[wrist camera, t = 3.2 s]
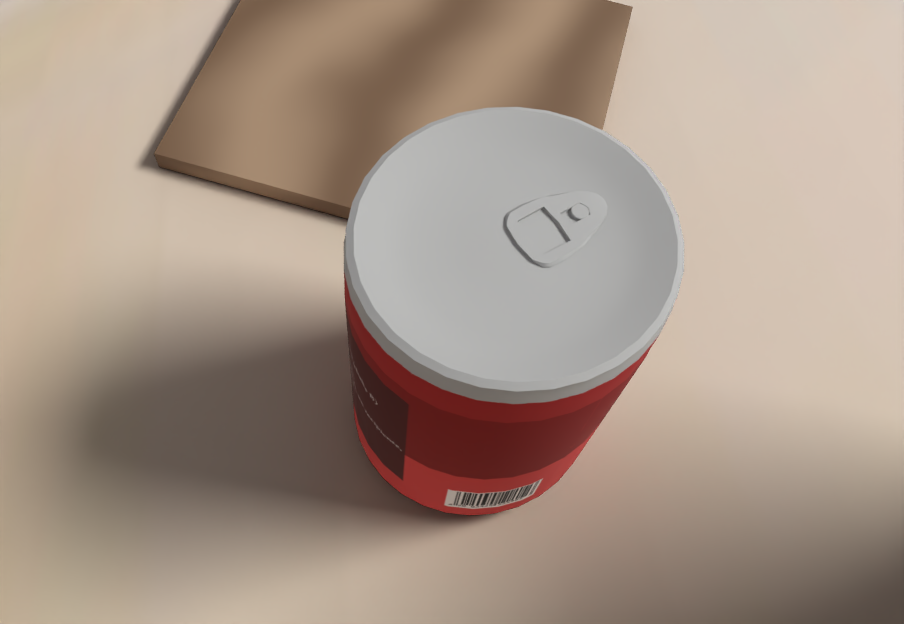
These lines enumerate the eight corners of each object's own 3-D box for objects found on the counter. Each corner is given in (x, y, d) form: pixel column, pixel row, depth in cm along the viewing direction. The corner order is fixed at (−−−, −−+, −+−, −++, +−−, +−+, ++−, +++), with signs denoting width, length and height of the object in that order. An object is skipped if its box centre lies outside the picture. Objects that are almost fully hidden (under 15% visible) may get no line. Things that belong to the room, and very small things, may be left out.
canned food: (628, 401, 30) (751, 227, 20) (479, 576, 26) (538, 472, 17) (463, 269, 31) (502, 51, 22) (306, 417, 28) (269, 240, 19)
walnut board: (627, 20, 38) (632, 7, 37) (563, 278, 32) (568, 267, 31) (288, -67, 39) (287, -83, 38) (158, 166, 32) (153, 153, 32)
